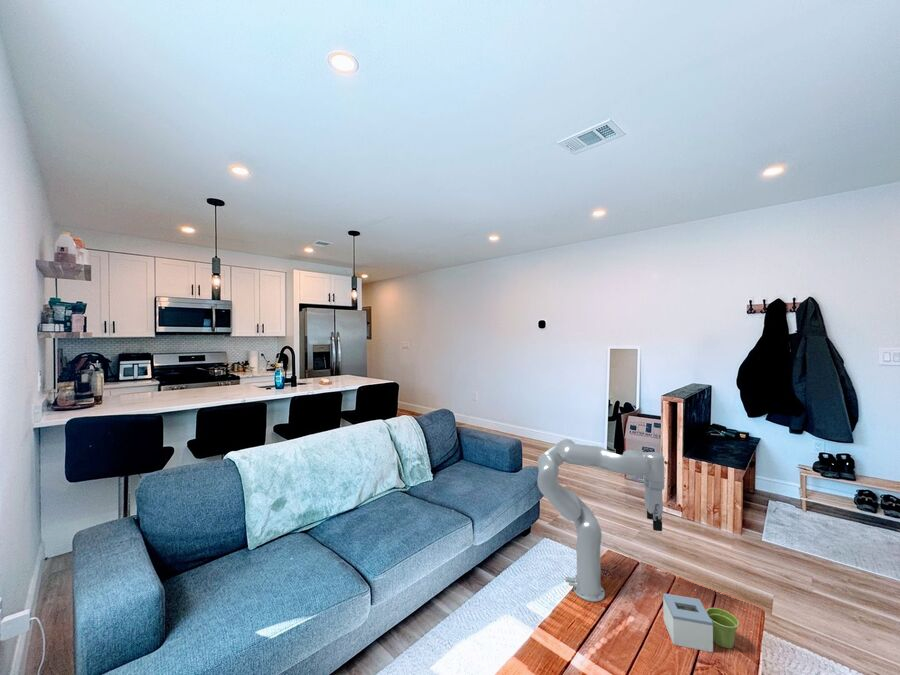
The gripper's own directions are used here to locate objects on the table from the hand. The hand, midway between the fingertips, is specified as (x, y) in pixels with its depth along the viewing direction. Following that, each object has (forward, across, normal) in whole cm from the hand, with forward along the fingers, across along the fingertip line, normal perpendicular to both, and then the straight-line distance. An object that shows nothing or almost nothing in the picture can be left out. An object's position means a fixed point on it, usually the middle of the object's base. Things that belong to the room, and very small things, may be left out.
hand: (654, 524), depth 152 cm
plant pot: (+31, +18, +17) cm, 39 cm away
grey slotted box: (+30, +18, +6) cm, 36 cm away
